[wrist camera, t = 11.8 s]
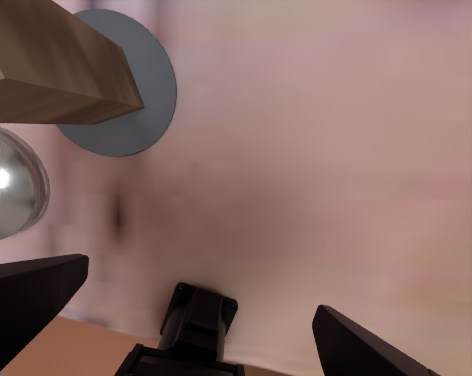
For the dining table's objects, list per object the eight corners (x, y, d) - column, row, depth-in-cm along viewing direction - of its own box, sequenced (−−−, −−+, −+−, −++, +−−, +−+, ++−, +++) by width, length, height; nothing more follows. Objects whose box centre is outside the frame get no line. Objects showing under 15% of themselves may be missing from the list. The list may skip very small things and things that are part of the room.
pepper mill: (145, 107, 20) (-28, 71, 7) (94, 125, 20) (-156, 119, 7) (122, 48, 19) (-128, -121, 6) (69, 67, 19) (-269, -52, 6)
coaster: (156, 173, 21) (154, 174, 21) (33, 129, 21) (28, 129, 20) (194, 44, 19) (192, 41, 18) (55, -12, 18) (50, -16, 18)
